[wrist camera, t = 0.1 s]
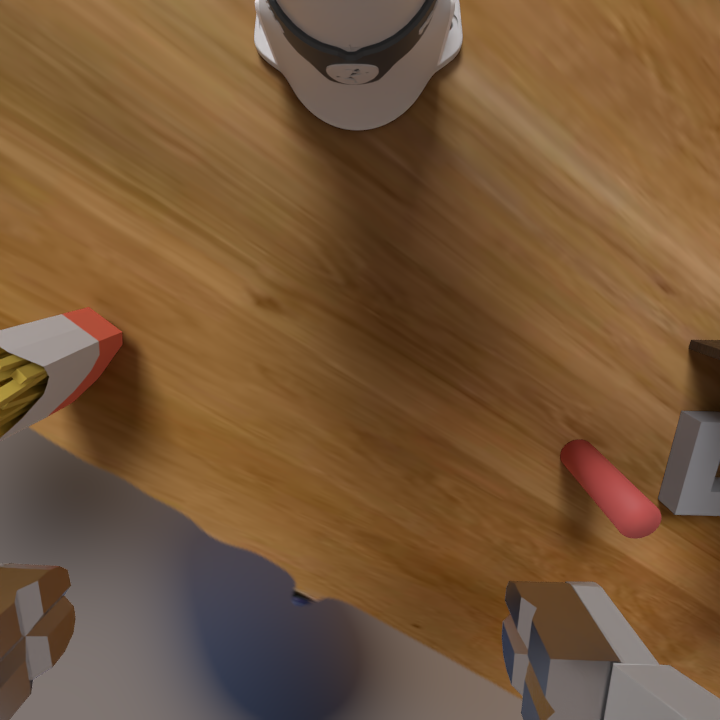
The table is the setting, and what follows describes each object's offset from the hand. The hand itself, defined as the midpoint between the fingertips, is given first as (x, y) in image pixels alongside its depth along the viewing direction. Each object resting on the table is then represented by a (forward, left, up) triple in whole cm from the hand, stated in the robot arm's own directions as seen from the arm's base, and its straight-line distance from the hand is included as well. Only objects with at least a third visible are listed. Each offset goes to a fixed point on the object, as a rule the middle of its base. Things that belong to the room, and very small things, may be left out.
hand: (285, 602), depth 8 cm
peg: (+19, +27, -39) cm, 51 cm away
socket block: (+19, +44, -39) cm, 62 cm away
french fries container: (+7, -30, -39) cm, 50 cm away
